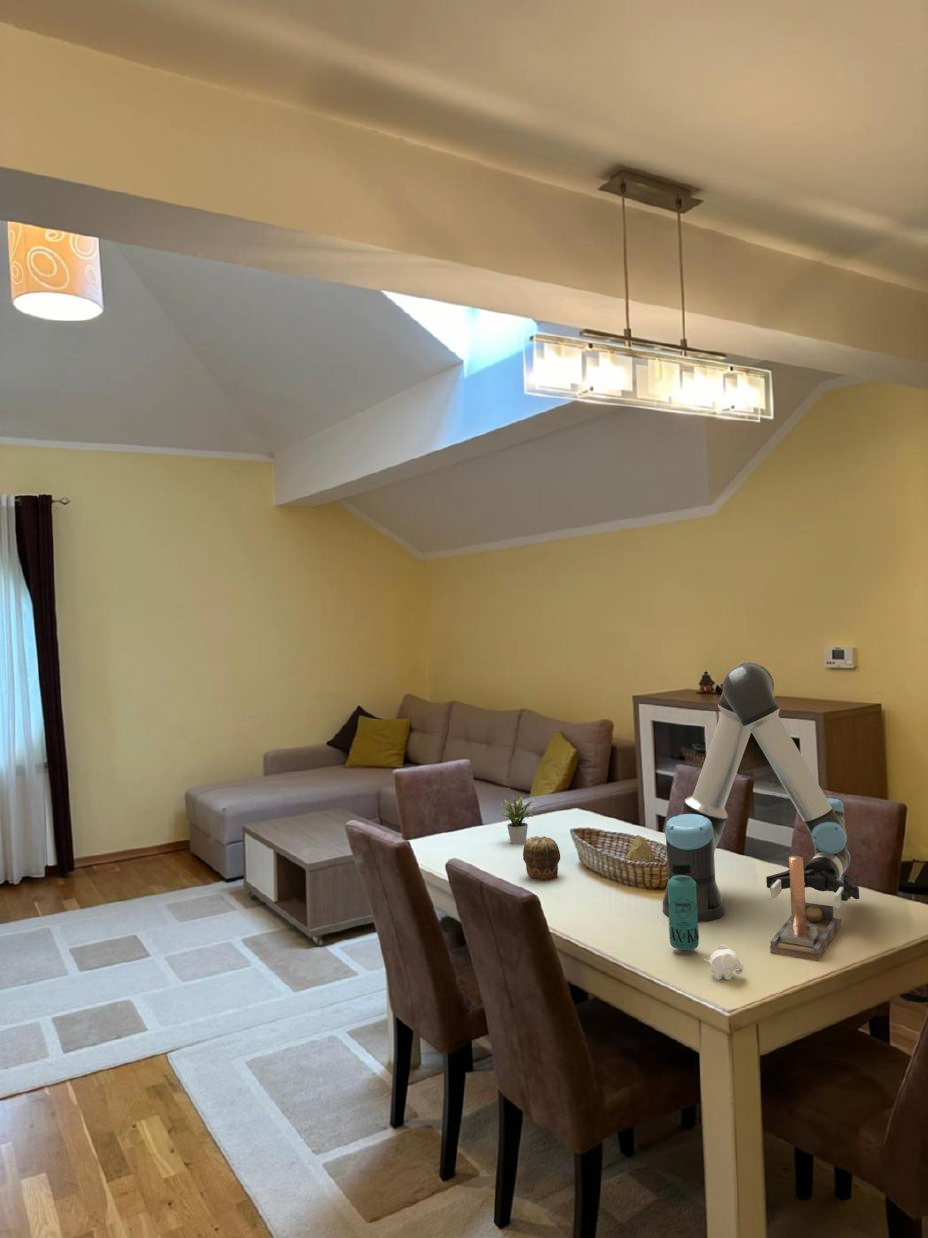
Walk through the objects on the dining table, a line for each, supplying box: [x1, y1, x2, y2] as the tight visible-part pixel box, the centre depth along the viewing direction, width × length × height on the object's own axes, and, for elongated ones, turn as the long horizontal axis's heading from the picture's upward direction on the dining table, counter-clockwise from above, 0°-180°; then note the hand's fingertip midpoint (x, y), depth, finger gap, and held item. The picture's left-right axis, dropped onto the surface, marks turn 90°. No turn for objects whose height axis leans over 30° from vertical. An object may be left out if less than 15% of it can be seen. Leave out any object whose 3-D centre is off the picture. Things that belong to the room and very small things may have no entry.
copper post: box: [780, 855, 820, 947], centre depth 191 cm, size 6×7×18 cm
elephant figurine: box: [703, 944, 744, 981], centre depth 177 cm, size 7×8×6 cm
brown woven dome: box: [522, 835, 561, 882], centre depth 253 cm, size 11×11×12 cm
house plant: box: [499, 795, 537, 845], centre depth 294 cm, size 14×14×16 cm
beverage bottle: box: [667, 861, 700, 951], centre depth 192 cm, size 6×7×20 cm
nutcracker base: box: [769, 902, 842, 962], centre depth 196 cm, size 24×10×5 cm, turn 145°
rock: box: [625, 834, 657, 863], centre depth 255 cm, size 11×9×10 cm
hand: (803, 897), depth 191 cm, fingers open, 13 cm apart
